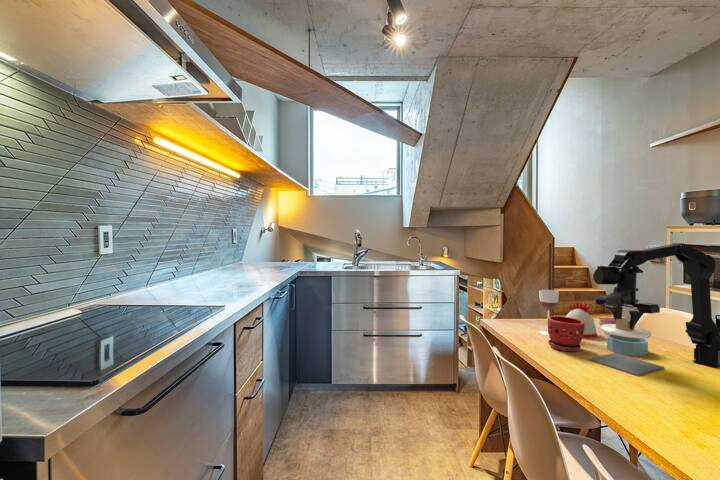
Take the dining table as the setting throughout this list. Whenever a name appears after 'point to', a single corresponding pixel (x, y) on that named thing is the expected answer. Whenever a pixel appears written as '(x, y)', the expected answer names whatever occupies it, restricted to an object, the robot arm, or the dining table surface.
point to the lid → (625, 329)
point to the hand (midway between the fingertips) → (625, 327)
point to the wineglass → (548, 302)
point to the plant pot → (565, 333)
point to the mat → (626, 364)
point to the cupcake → (607, 321)
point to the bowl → (627, 345)
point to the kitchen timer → (583, 319)
